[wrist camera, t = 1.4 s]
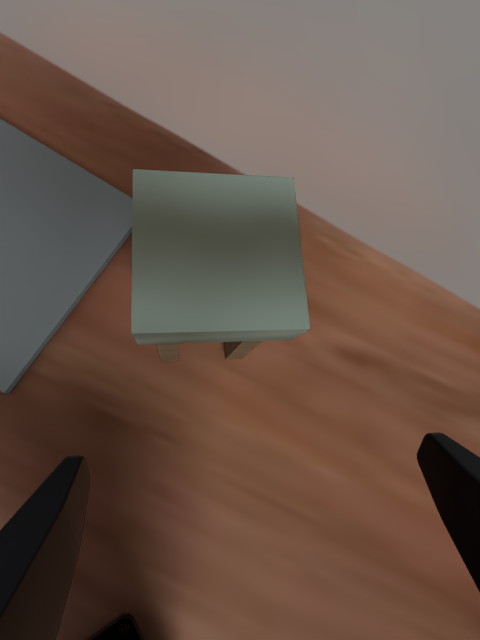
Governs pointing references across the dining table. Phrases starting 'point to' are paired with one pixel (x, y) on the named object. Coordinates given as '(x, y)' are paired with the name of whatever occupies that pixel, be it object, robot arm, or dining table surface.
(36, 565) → the robot arm
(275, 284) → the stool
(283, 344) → the dining table surface
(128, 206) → the mat
